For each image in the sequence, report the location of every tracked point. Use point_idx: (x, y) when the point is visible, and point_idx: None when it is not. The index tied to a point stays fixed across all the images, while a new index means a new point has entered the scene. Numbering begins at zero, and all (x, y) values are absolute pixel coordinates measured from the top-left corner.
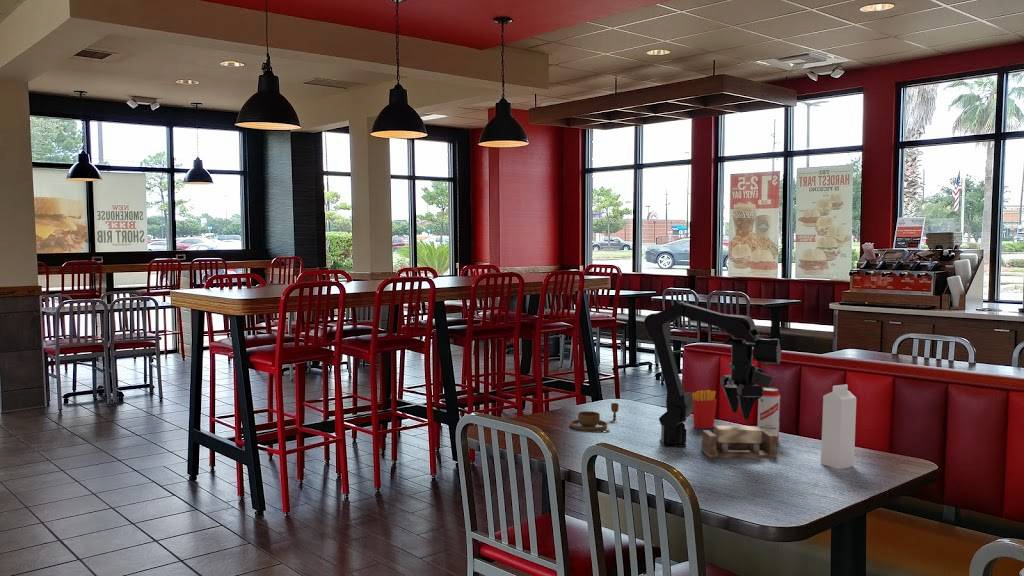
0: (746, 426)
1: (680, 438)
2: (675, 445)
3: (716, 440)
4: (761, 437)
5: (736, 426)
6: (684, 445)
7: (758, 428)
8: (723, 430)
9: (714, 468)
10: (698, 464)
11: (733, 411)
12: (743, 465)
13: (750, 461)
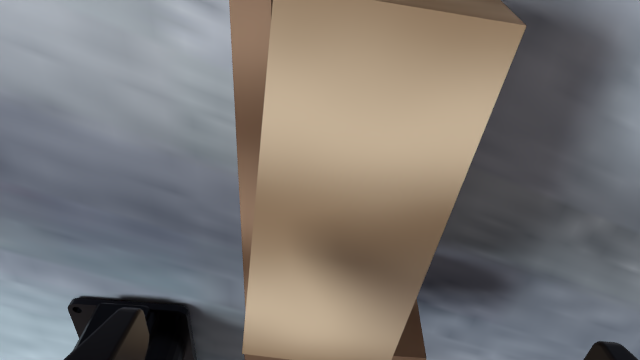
0: (279, 125)
1: (163, 355)
2: (192, 345)
3: (420, 331)
4: (500, 1)
5: (279, 222)
6: (187, 316)
7: (405, 20)
8: (396, 343)
9: (591, 313)
10: (503, 344)
11: (146, 347)
12: (610, 175)
13: (547, 97)
